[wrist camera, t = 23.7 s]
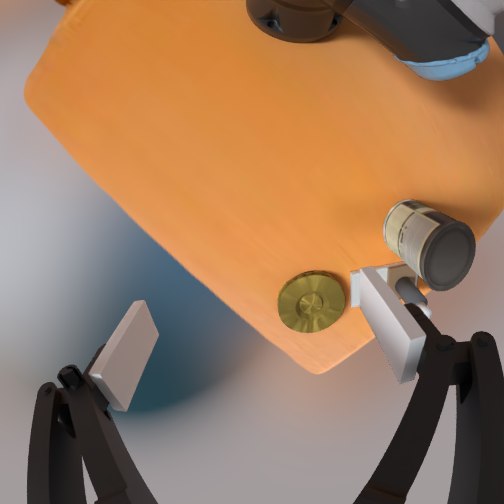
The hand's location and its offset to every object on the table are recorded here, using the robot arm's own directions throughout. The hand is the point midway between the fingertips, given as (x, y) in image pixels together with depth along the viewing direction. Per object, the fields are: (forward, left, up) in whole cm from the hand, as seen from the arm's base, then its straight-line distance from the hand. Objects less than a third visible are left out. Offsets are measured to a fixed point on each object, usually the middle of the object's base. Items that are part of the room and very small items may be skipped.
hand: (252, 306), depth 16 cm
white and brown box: (+18, +21, -29) cm, 40 cm away
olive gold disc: (+19, +7, -29) cm, 36 cm away
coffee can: (+8, +26, -29) cm, 40 cm away
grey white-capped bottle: (+18, +24, -27) cm, 41 cm away
